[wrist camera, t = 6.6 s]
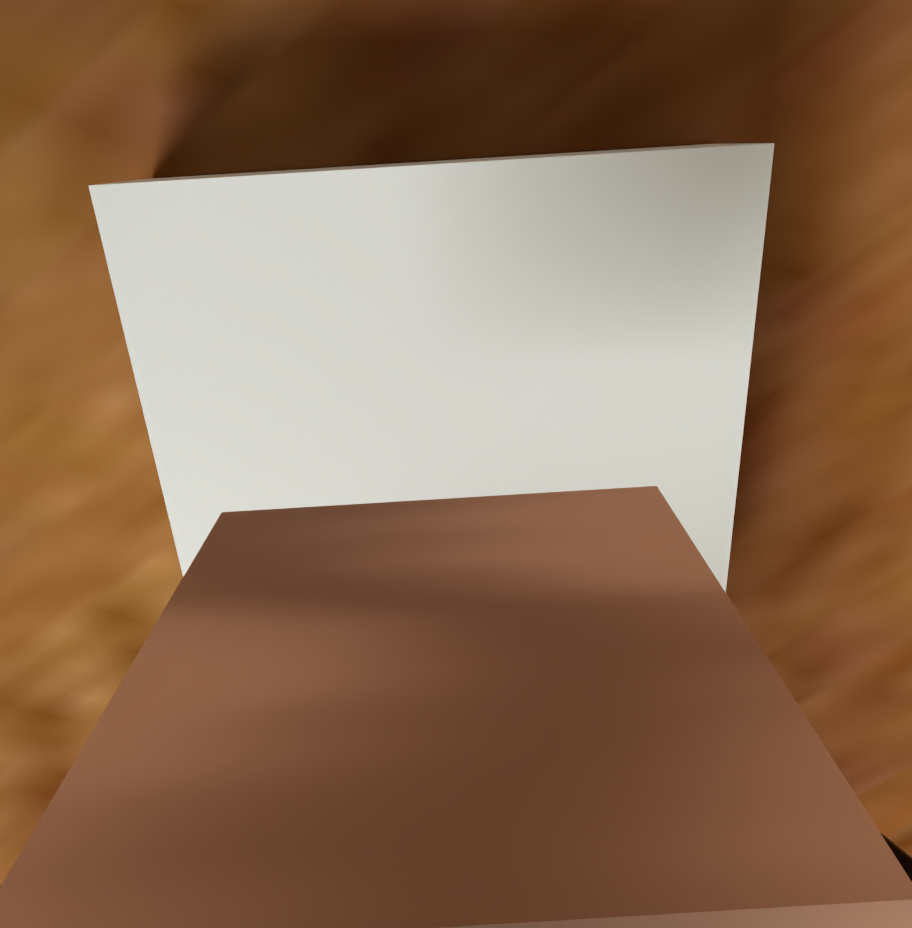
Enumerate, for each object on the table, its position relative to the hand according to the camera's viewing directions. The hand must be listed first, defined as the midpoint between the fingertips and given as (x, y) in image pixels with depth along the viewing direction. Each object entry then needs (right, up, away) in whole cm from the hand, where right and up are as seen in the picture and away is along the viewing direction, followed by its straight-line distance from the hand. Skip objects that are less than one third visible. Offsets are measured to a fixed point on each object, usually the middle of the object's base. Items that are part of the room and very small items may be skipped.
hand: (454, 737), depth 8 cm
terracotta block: (0, +1, +1) cm, 1 cm away
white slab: (0, +4, +9) cm, 10 cm away
